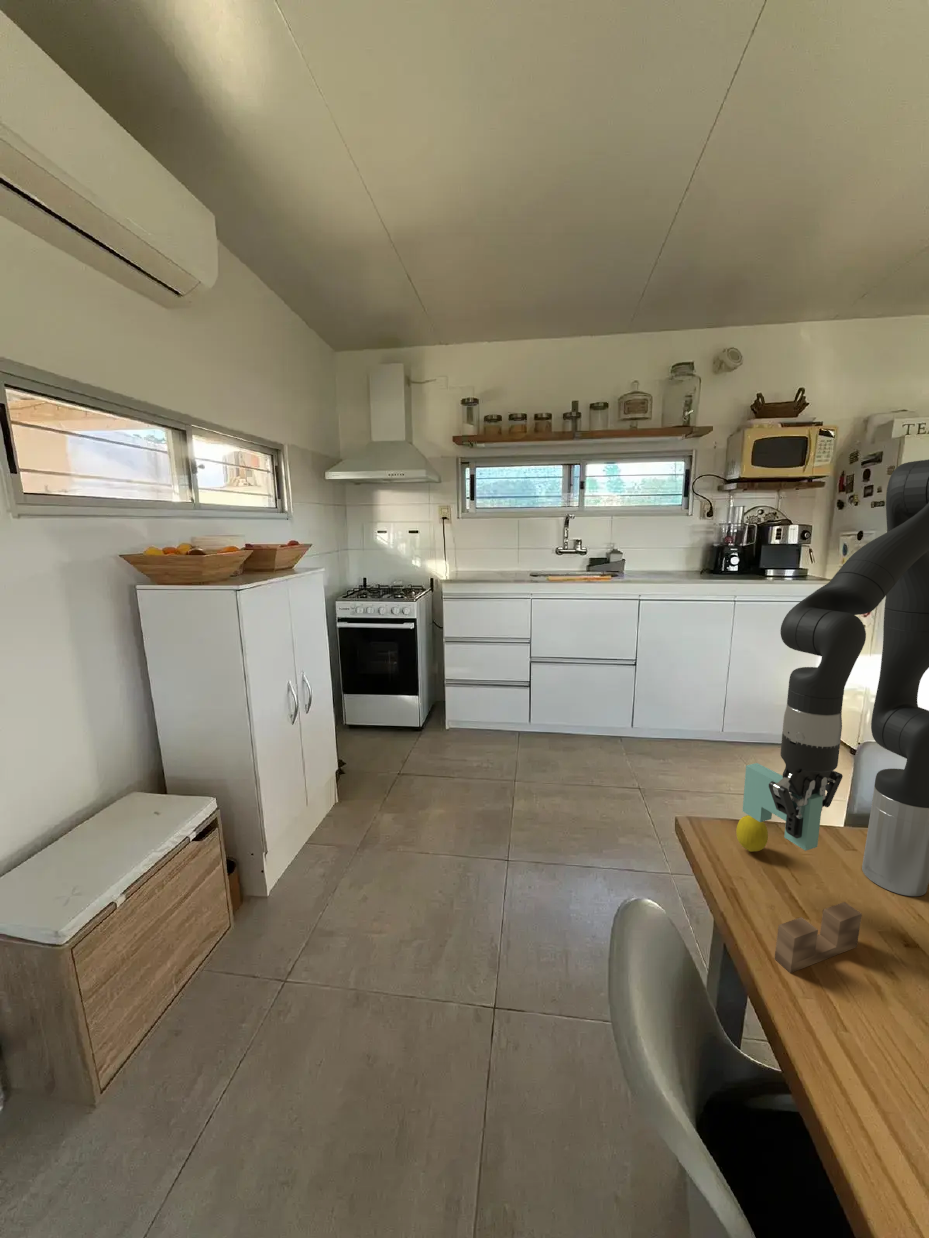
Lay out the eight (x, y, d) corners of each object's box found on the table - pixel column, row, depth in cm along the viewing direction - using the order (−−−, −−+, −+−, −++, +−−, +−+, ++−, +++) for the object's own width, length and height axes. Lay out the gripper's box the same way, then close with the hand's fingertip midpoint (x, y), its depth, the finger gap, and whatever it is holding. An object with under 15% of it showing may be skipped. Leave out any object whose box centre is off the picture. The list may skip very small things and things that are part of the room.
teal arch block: (742, 811, 91) (746, 765, 89) (753, 808, 92) (757, 762, 90) (805, 850, 80) (810, 799, 78) (817, 846, 81) (822, 796, 79)
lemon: (770, 861, 98) (774, 824, 96) (739, 858, 99) (743, 821, 98) (760, 844, 103) (763, 809, 102) (731, 841, 104) (734, 806, 103)
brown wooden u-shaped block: (839, 934, 81) (844, 901, 80) (856, 946, 78) (861, 913, 77) (774, 958, 76) (778, 924, 75) (790, 973, 74) (794, 938, 73)
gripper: (819, 718, 84) (809, 811, 87) (756, 732, 80) (748, 829, 83) (867, 736, 77) (854, 836, 80) (800, 752, 73) (790, 857, 76)
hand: (800, 832), depth 82 cm, fingers closed on teal arch block, 2 cm apart
